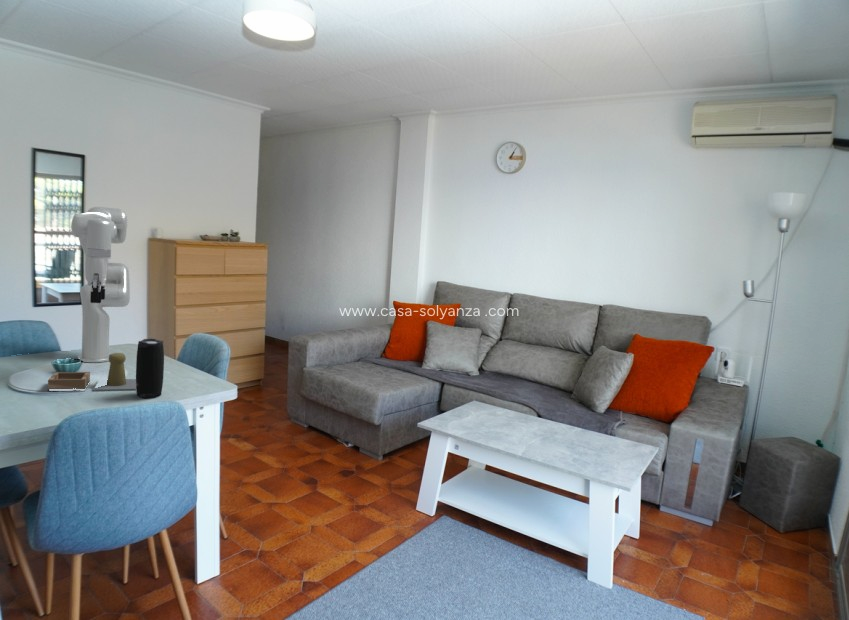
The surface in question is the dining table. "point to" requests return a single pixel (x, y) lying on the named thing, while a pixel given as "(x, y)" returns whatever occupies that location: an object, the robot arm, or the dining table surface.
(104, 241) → the robot arm
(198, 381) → the dining table surface
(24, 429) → the dining table surface
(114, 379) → the olive bottle
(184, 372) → the dining table surface
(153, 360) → the portable speaker
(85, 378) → the walnut holder
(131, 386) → the charcoal mat
